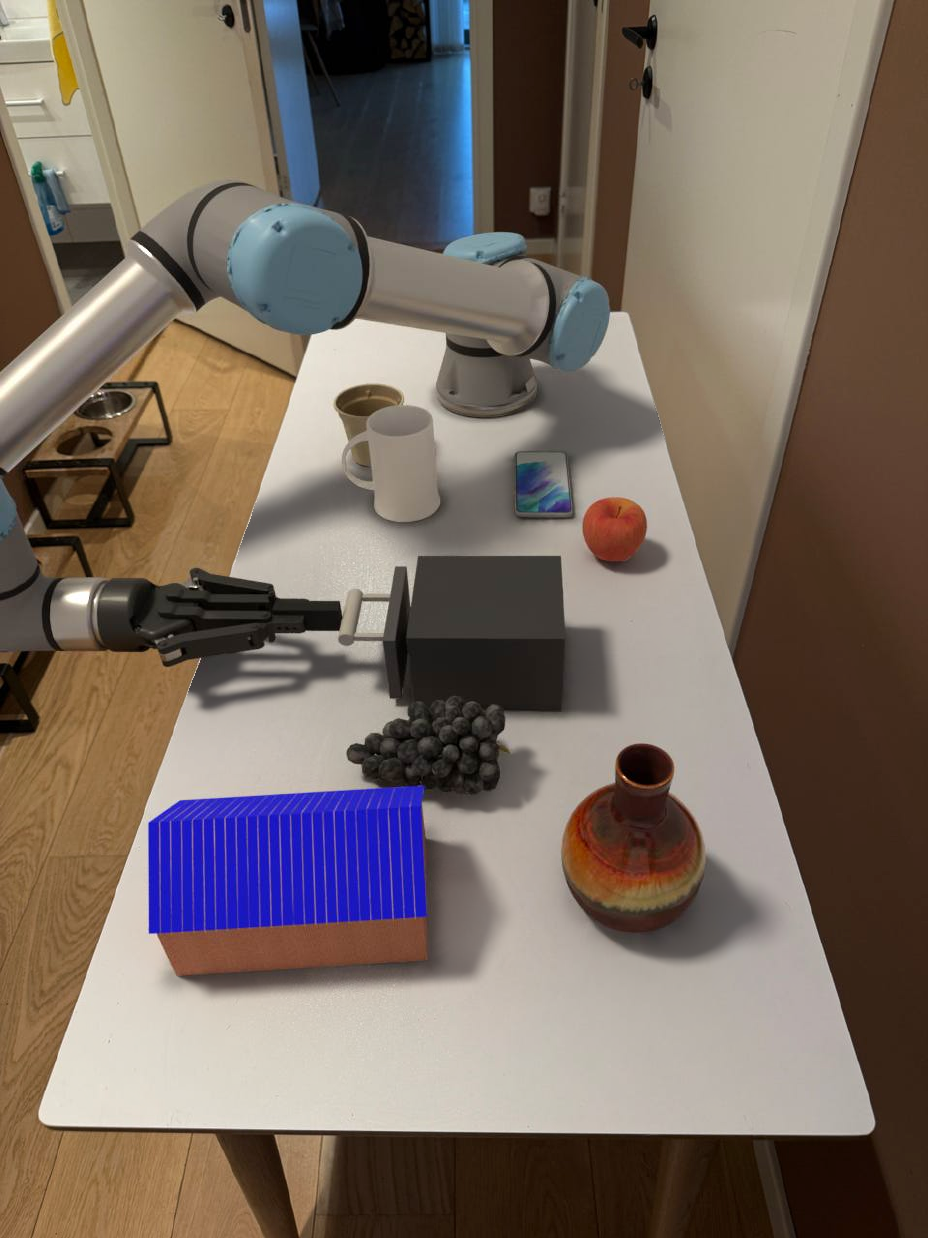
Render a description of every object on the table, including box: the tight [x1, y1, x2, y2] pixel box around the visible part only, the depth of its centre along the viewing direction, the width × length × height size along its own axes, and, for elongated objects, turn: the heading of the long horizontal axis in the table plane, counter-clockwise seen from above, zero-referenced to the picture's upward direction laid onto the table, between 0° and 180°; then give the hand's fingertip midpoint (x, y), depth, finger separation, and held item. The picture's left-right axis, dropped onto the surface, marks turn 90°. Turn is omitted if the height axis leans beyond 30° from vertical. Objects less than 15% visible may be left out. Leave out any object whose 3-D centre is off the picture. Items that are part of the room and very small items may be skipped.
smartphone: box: [513, 450, 574, 518], centre depth 121 cm, size 7×1×15 cm
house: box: [147, 785, 429, 977], centre depth 71 cm, size 12×20×12 cm, turn 93°
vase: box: [560, 742, 707, 934], centre depth 70 cm, size 11×11×15 cm
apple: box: [581, 496, 648, 562], centre depth 107 cm, size 7×7×8 cm
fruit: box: [345, 696, 512, 796], centre depth 83 cm, size 9×8×15 cm
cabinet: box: [406, 555, 566, 712], centre depth 92 cm, size 15×13×10 cm
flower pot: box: [333, 382, 405, 468], centre depth 126 cm, size 9×9×9 cm
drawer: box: [337, 565, 411, 700], centre depth 93 cm, size 18×11×8 cm, turn 87°
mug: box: [341, 404, 441, 523], centre depth 115 cm, size 12×8×12 cm
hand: (340, 616), depth 92 cm, fingers closed
